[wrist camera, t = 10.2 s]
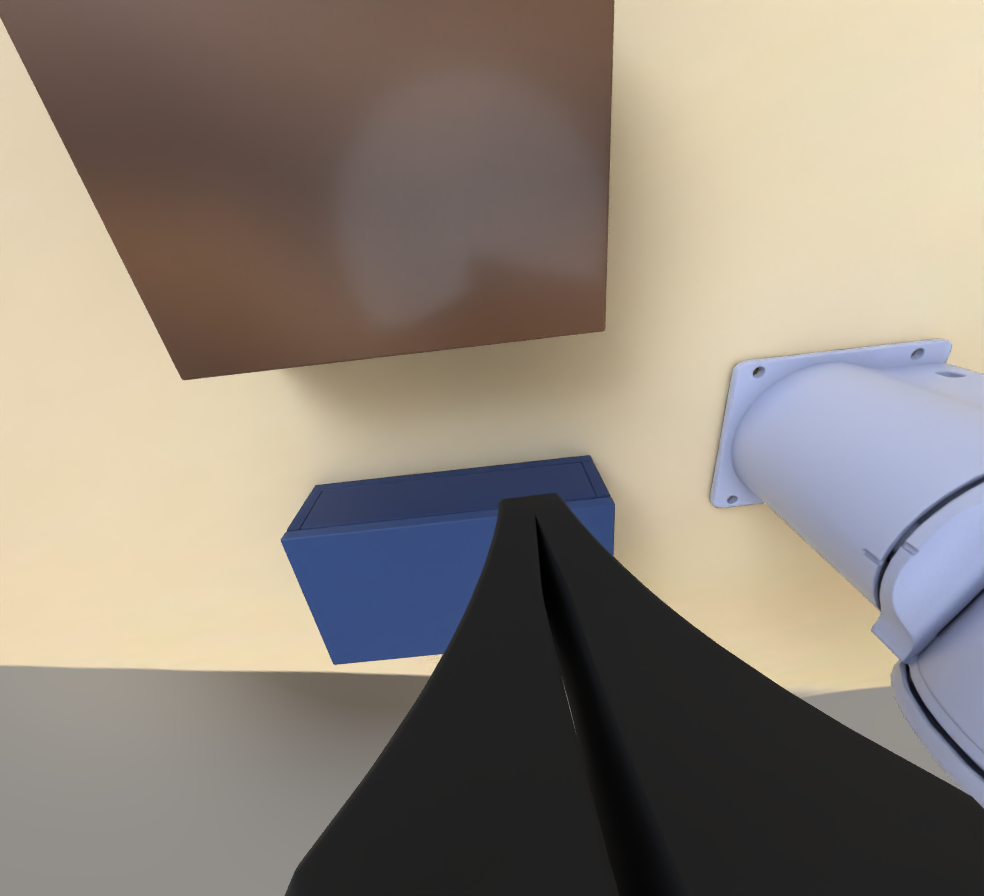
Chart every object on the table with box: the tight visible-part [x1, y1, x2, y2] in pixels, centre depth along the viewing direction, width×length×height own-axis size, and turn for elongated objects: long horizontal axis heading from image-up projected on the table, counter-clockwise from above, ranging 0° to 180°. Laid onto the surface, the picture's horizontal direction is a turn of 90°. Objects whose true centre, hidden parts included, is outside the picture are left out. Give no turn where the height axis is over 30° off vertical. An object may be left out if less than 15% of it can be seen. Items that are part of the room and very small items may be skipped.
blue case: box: [287, 455, 610, 532], centre depth 21 cm, size 8×14×4 cm, turn 96°
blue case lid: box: [281, 497, 615, 665], centre depth 19 cm, size 8×14×1 cm, turn 96°
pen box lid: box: [0, 0, 614, 380], centre depth 11 cm, size 10×14×1 cm
